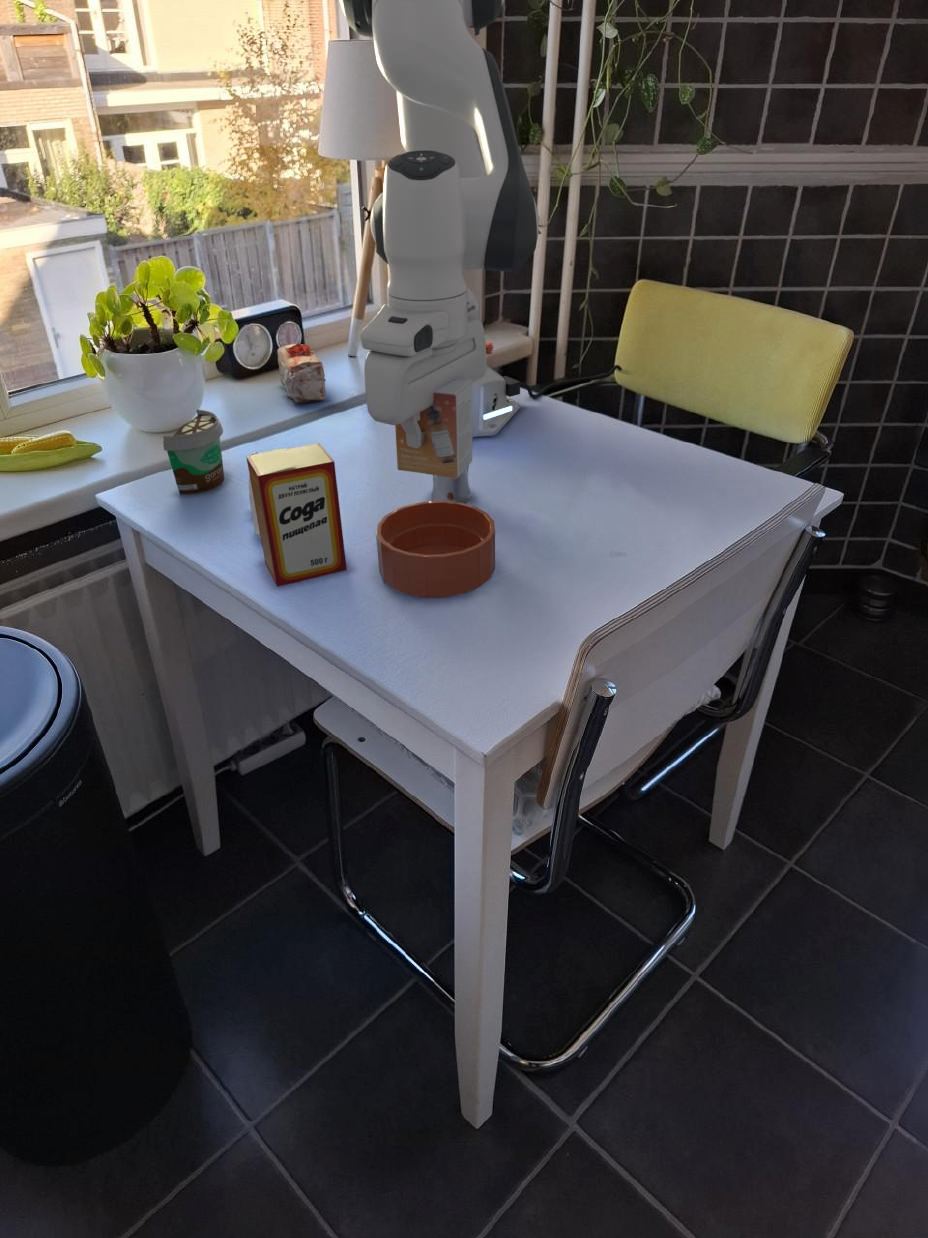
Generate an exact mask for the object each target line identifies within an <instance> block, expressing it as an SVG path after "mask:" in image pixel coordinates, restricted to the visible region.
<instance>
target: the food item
mask: <svg viewBox="0 0 928 1238" xmlns="http://www.w3.org/2000/svg"><path fill="white" fill-rule="evenodd" d="M314 353H315V352H314V351H313V350H312V349H311V347H310V345H308V344H301V343H299V342H297V343H290V344H287V345H284V346H281V347H278V349H277V363H278V371H279V377H280V382H281V384H282V385H283V387H284V388H285V390H286V397H288V398H290V399H292V400H293V401H294V402H295V403H299V404H307V403H308V404H309V403H316V402H322V401H325V400H326V380H327V379H326V378H325V376H326V375H325V369H324V365H323V362H322V361H320V359H319V358H318V357H317V356H316V355H315V354H314Z"/></svg>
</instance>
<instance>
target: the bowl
mask: <svg viewBox="0 0 928 1238" xmlns="http://www.w3.org/2000/svg"><path fill="white" fill-rule="evenodd" d="M375 537H376V538H375V539H376V548H377V549H376V550H377V559H378V571H379V575H380V577H381V578H382V581H383V582H384V583H385V584H386V585H388V586H389V587H390V588H391V589H392V590H394V591H396V592H400V593H402V594H405V595H407V596H412V597H418V598H425V599H440V598H441V599H442V598H450V597H454V596H460V595H464V594H467V593H470V592H471V591H474V590H476V589H478V588H480V587H482V586H483V585H484V584H486V583H487V582H488V581H489V580H491V578H492V576H493V575H494V573H495V571H496V524H495V521H494V519H493V518H492V516H490V514H489V513H488V512H486V511H484V510H483V509H481V508H480V507H477V506H474V505H472V504H469V503H466V504H465V503H460V502H451V501H432V500H427V501H422V502H421V501H420V502H415V503H410V504H407V505H404V506H401V507H398V508H396V509H394V510H392V511H390V512H389V513H387V514H385V515H384V516H383V517H382V518H381V519H380V520H379V522H378V523H377V525H376V530H375Z"/></svg>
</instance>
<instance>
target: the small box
mask: <svg viewBox="0 0 928 1238" xmlns="http://www.w3.org/2000/svg"><path fill="white" fill-rule="evenodd" d="M433 399H434V400H433V405H432V406H430V407H428V408H427V409H425V410H423V411H421V412H420V420H419V421H417V423H418V425H419V427H420V430H425V434H426V436H425V439H426V442H425V444H423V445H422V446H420V447H419V448H413V447H409V446H408V445H407V441H406V432H405V431H404V429H403V427H402V426H401V424H399V425H394V427H395V446H396V448H395V449H396V466H397V467H396V468H397V470H398V471H404V472H412V473H419V474H424V475H425V474H426V475H432V476H433V475H437V476H442V477H448V478H453V479H457V478H458V477H459V476H460V475H461V473H462V472H463V471H464V470H465V469H466V468H467V466H468V465H469V466H470V465H471V463H472V462H473V437H472V380H469V379H463V380H462V379H457V380H455V381H453V382H451V383H449V384H447V385H445V386H443V387H441V388H439V389H437V390H436V391H434V393H433Z"/></svg>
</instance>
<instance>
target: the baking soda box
mask: <svg viewBox="0 0 928 1238" xmlns="http://www.w3.org/2000/svg"><path fill="white" fill-rule="evenodd" d="M245 457H246V462H247V467H248V473H249V474H250V480H251V486H252V491H253V497H254V503H255V508H256V514H257V520H258V525H259V531H260V537H259V538H260V542H261V548H262V553H263V558H264V564H265V566H266V568H267V571H268V572H269V574H270V576H271V579H272V581H273V582H274V584H275V586H276V587H278V588H279V587H282V586H287V585H290V584H295V583H299V582H305V581H308V580H310V579H316V578H319V577H324V576H328V575H332V574H337V573H341V572H345V571H348V570H347V569H348V567H347V560H346V551H345V541H344V533H343V526H342V517H341V508H340V499H339V490H338V482H337V481H338V480H337V473H336V466H335V465H336V464H335V460H334V459H333V458H332V457H331V455H330V454H329V453H328V452H327V450H326V449H325V448H324V447H323V446H322V444H321V443H320V442H316V443H312V444H308V445H307V444H305V445H301V446H296V447H289V448H284V447H280V448H277V449H276V448H275V449H273V450H268V451H264V452H260V453H258V454H255V455H252V454H251V455H247V456H245Z"/></svg>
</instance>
